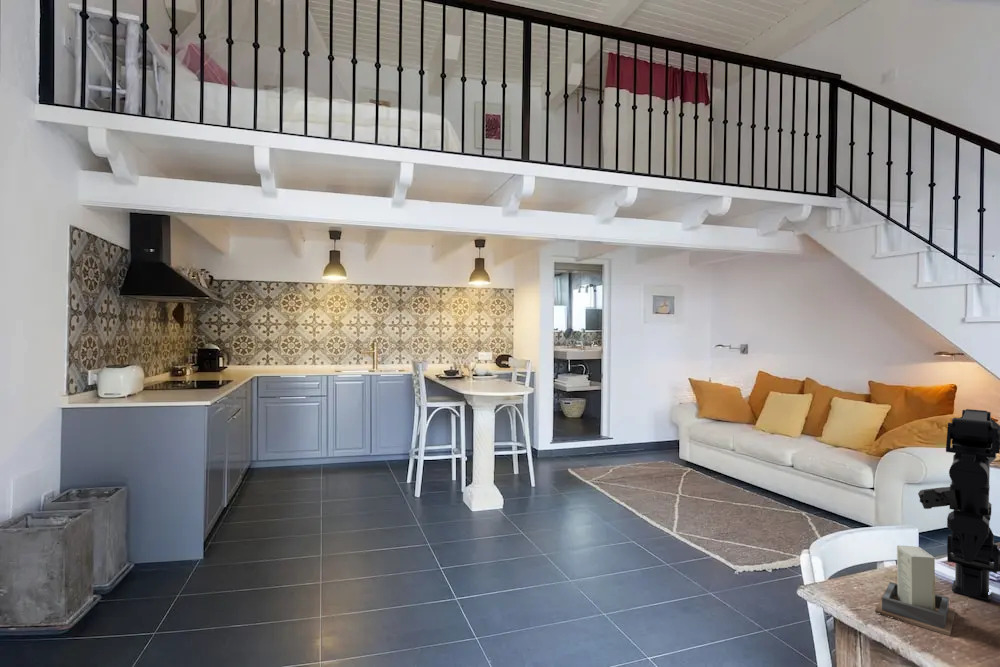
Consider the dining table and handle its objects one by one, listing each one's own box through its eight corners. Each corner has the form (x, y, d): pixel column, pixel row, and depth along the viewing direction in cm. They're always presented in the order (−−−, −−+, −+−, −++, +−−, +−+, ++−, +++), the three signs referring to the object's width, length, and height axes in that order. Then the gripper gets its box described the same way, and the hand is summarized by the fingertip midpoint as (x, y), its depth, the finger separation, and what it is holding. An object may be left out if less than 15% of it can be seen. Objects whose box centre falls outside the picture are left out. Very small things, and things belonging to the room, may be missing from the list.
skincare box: (936, 618, 110) (937, 558, 109) (910, 616, 110) (911, 556, 110) (919, 603, 116) (919, 546, 116) (895, 600, 117) (896, 544, 116)
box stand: (885, 592, 122) (885, 578, 121) (955, 612, 113) (955, 597, 113) (875, 613, 113) (875, 598, 113) (950, 635, 105) (950, 619, 105)
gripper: (926, 464, 125) (925, 532, 126) (916, 481, 112) (914, 556, 112) (992, 474, 118) (990, 546, 118) (989, 492, 104) (987, 574, 104)
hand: (969, 554), depth 113 cm, fingers open, 9 cm apart
